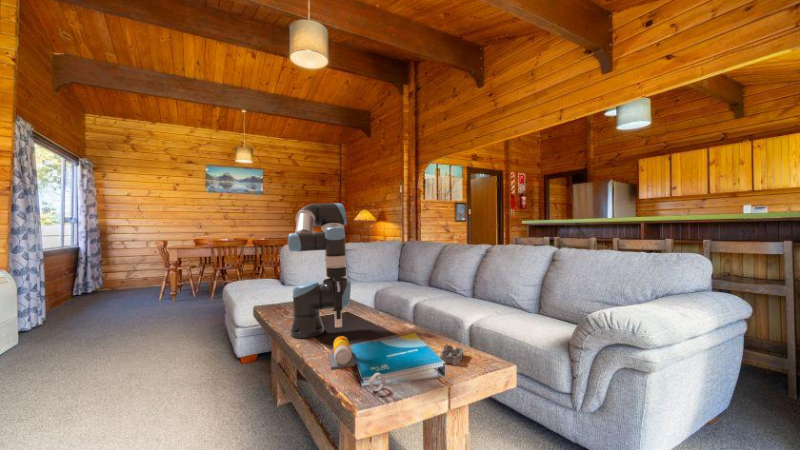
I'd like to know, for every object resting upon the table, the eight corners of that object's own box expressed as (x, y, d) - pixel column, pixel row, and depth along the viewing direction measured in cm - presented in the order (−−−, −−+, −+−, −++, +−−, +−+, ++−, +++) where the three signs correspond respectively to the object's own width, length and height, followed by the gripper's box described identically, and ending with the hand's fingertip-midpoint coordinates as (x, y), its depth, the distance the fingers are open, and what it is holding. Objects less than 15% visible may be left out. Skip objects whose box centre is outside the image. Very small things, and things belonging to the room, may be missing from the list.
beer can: (351, 345, 142) (354, 359, 128) (338, 353, 141) (339, 369, 127) (344, 332, 142) (346, 345, 127) (330, 340, 141) (331, 354, 126)
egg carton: (446, 353, 137) (446, 342, 137) (466, 355, 134) (465, 344, 134) (438, 364, 127) (437, 352, 127) (459, 366, 124) (458, 355, 124)
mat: (328, 355, 138) (328, 353, 138) (351, 352, 140) (351, 350, 140) (331, 369, 125) (331, 367, 125) (356, 365, 128) (356, 363, 128)
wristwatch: (386, 388, 109) (385, 372, 109) (373, 394, 106) (373, 378, 106) (380, 385, 111) (379, 369, 111) (367, 391, 108) (367, 375, 108)
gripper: (325, 265, 145) (327, 323, 145) (327, 269, 132) (330, 332, 133) (343, 264, 147) (346, 321, 147) (348, 267, 135) (350, 330, 135)
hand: (338, 326), depth 140 cm, fingers closed
